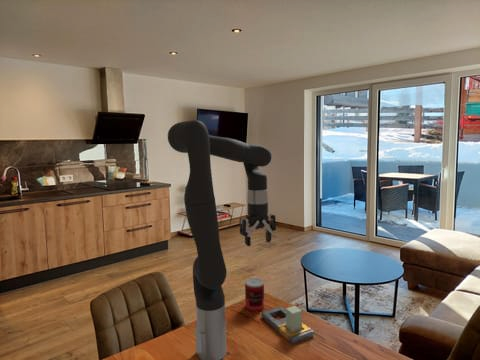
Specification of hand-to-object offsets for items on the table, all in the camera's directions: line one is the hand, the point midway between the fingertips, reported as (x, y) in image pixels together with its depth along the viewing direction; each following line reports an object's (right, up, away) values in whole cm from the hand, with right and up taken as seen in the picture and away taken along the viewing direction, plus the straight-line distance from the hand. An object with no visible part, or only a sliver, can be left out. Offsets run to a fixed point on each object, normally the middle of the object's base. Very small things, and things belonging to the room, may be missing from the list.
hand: (258, 243), depth 127 cm
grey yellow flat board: (+10, -30, -1) cm, 32 cm away
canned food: (-1, -29, +13) cm, 32 cm away
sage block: (+12, -31, -6) cm, 34 cm away
